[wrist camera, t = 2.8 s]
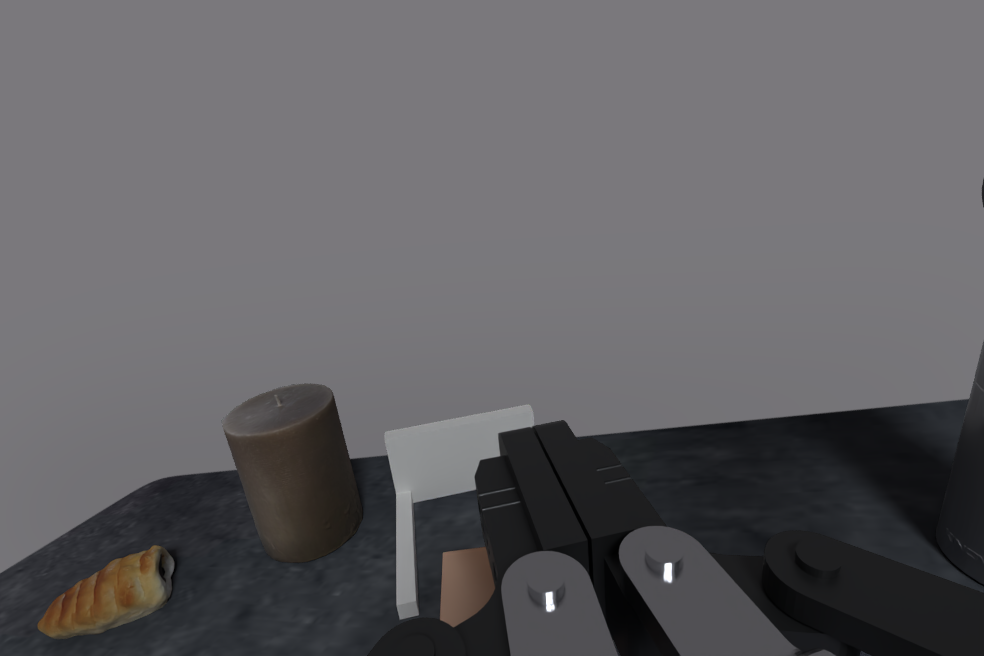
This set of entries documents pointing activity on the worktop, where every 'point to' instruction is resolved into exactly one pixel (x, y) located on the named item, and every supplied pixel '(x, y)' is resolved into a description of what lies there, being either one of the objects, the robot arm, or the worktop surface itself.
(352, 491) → the pillar candle
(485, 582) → the wooden block
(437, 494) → the white frame piece
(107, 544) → the worktop surface
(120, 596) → the pastry
